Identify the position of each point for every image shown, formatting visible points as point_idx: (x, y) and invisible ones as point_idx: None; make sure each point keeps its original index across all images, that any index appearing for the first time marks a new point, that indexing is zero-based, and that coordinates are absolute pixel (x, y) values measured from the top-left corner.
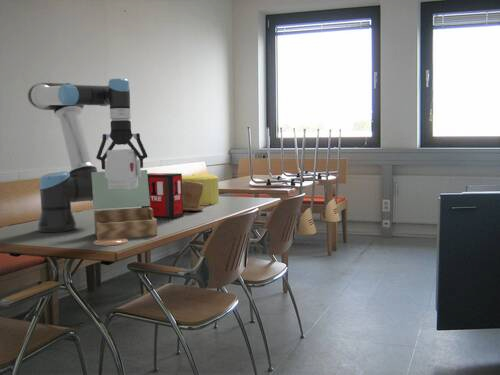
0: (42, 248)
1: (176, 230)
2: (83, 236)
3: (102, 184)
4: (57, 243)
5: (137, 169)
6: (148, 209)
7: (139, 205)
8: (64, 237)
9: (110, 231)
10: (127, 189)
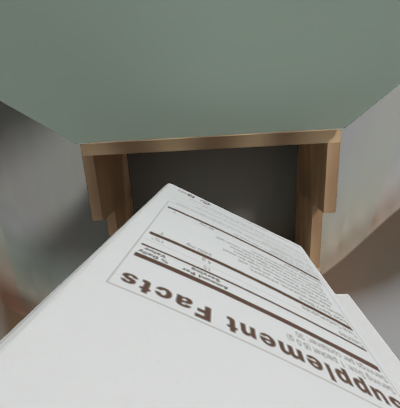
0: (10, 306)
1: (384, 185)
2: (85, 179)
3: (47, 80)
4: (31, 259)
5: (361, 334)
6: (324, 149)
7: (290, 129)
8: (31, 174)
9: None
10: (242, 92)
